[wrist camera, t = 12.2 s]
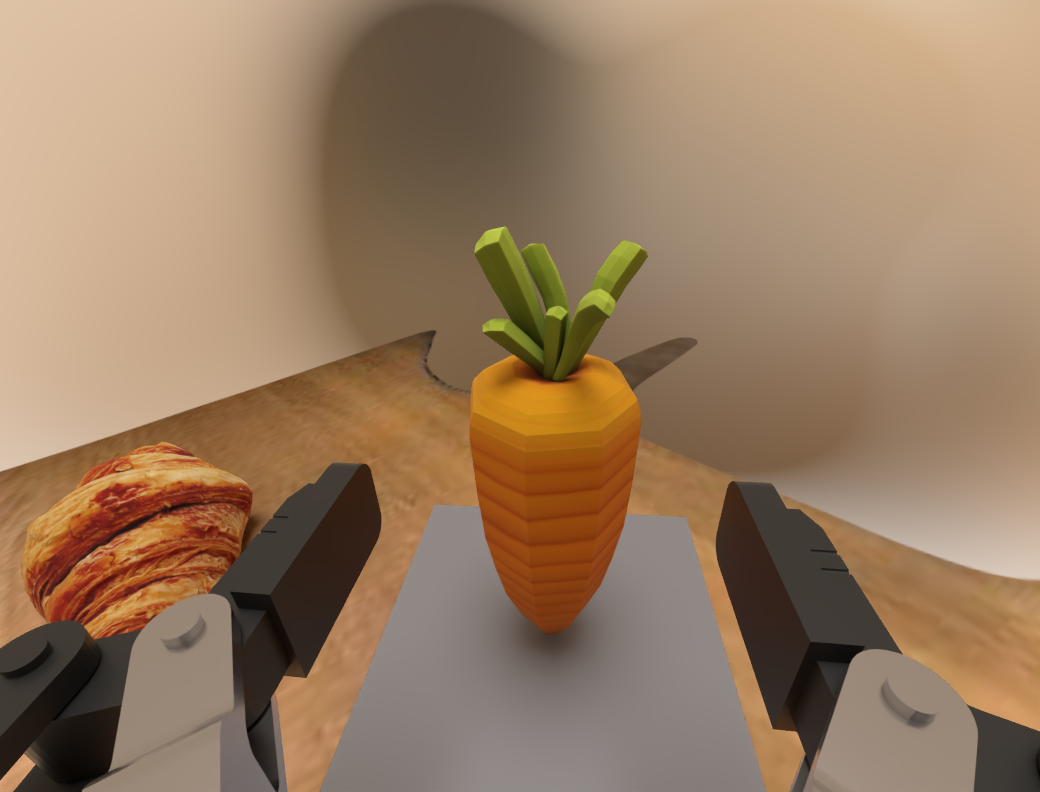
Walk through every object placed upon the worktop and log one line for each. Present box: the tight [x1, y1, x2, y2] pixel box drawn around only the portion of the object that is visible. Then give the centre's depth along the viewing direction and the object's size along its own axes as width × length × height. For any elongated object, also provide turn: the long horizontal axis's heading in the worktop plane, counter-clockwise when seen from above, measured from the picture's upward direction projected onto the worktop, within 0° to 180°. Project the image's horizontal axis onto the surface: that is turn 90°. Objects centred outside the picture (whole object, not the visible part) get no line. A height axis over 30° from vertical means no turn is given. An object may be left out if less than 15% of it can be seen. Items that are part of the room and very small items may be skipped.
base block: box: [320, 505, 766, 792], centre depth 19 cm, size 13×13×4 cm
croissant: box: [21, 442, 252, 639], centre depth 26 cm, size 21×10×8 cm, turn 34°
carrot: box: [470, 227, 648, 634], centre depth 14 cm, size 5×5×15 cm
